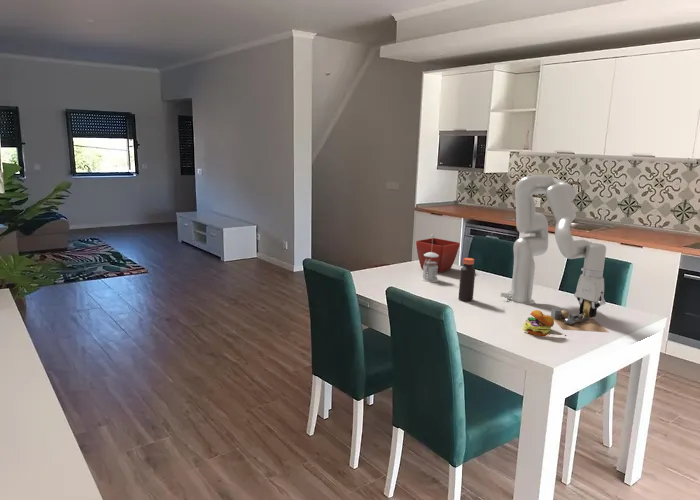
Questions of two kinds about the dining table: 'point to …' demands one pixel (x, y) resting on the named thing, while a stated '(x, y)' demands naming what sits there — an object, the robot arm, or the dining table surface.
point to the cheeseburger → (538, 324)
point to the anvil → (556, 313)
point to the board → (582, 325)
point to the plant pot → (438, 252)
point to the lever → (585, 314)
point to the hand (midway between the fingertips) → (587, 314)
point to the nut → (564, 314)
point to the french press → (430, 267)
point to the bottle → (467, 280)
